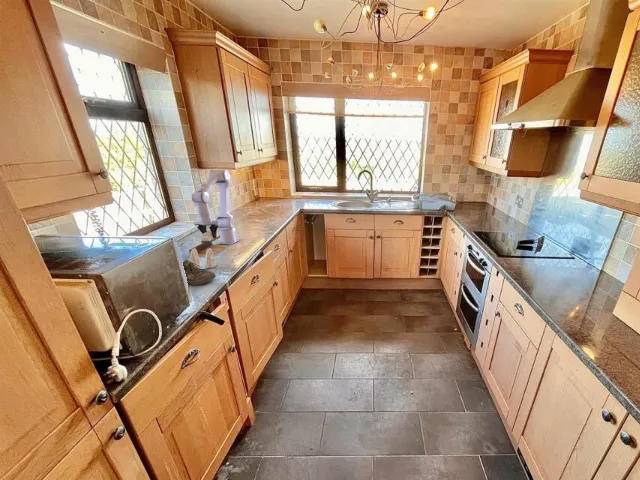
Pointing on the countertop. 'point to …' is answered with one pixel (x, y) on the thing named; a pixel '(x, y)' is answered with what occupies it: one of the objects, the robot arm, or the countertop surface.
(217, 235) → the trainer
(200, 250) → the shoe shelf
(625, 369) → the countertop surface
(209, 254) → the shaker set
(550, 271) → the countertop surface
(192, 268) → the hiking shoe
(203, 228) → the robot arm
